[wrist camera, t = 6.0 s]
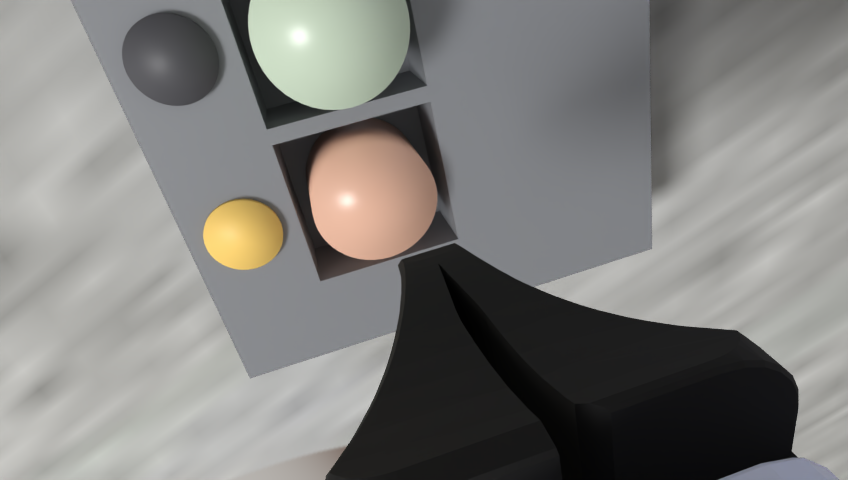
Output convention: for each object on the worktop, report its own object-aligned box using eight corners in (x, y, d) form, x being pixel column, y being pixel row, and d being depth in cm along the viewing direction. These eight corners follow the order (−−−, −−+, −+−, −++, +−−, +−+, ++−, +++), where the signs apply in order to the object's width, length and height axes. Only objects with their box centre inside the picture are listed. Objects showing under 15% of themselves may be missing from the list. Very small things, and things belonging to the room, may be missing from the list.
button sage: (369, -74, 16) (390, -78, 14) (401, 67, 18) (424, 87, 16) (229, -41, 16) (222, -39, 13) (277, 100, 18) (279, 127, 15)
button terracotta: (402, 103, 20) (423, 127, 17) (426, 204, 22) (447, 239, 19) (290, 134, 20) (294, 163, 17) (324, 235, 22) (332, 275, 19)
